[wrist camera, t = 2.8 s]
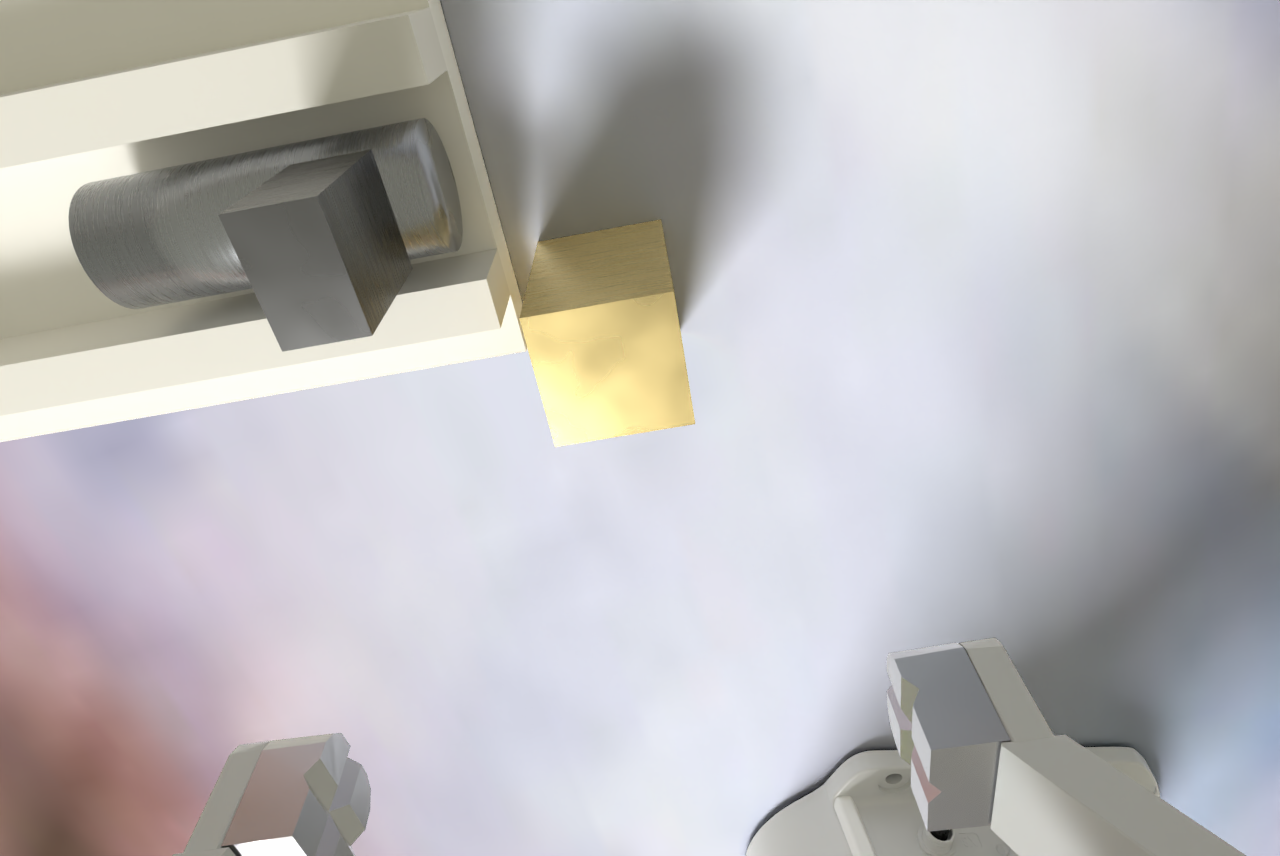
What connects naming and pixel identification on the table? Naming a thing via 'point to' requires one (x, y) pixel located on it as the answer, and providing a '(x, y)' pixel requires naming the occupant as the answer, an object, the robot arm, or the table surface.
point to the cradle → (200, 130)
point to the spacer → (606, 335)
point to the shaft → (278, 229)
